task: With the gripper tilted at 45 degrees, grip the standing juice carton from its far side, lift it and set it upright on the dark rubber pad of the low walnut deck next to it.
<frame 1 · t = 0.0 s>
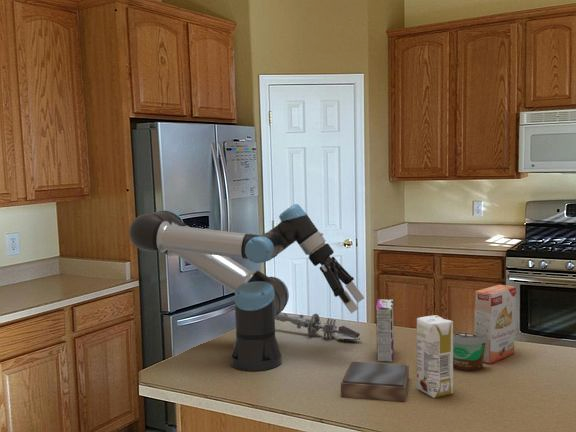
hand: (358, 305, 186), 15 cm above the counter, fingers open, 13 cm apart
cracker box: (494, 357, 182), on the counter
food container: (464, 369, 173), on the counter
candy bar box: (385, 356, 185), on the counter
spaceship: (313, 336, 208), on the counter
juice carton: (434, 392, 156), on the counter
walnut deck: (376, 387, 160), on the counter
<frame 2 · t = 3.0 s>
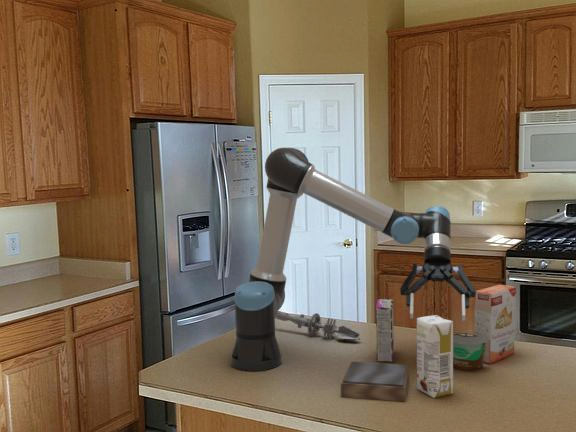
hand: (437, 317, 163), 17 cm above the counter, fingers open, 13 cm apart
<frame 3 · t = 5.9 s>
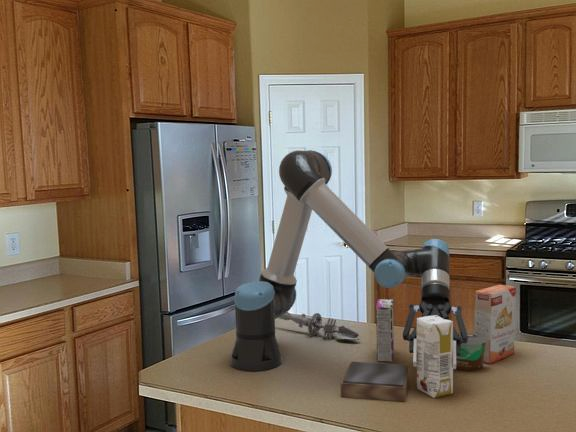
hand: (434, 365, 153), 8 cm above the counter, fingers closed on juice carton, 9 cm apart
juice carton: (434, 392, 156), on the counter, touching gripper
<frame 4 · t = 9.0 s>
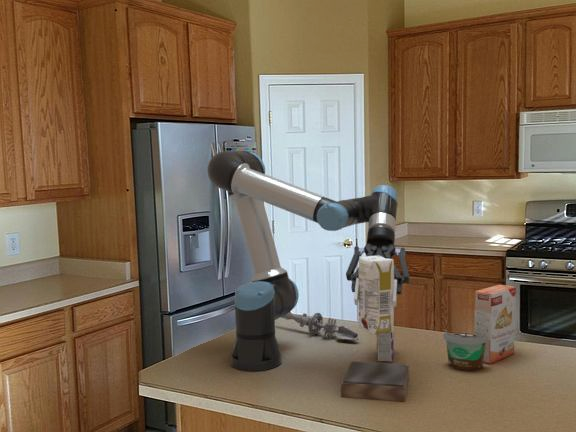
hand: (375, 303, 155), 23 cm above the counter, fingers closed on juice carton, 9 cm apart
juice carton: (376, 330, 158), point 15 cm above the counter, touching gripper
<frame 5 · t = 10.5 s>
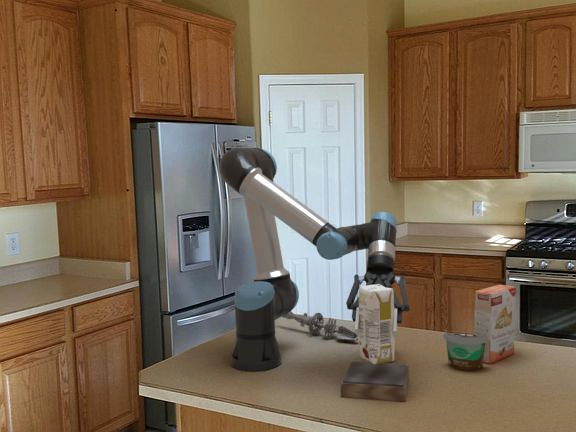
hand: (375, 332, 155), 16 cm above the counter, fingers closed on juice carton, 9 cm apart
juice carton: (377, 359, 159), point 8 cm above the counter, touching gripper
when the fingers open (13 cm above the counter, at t = 11.9 s): juice carton drops 1 cm, resting on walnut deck.
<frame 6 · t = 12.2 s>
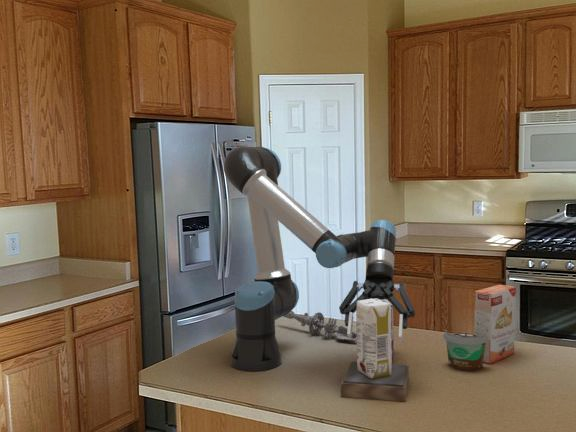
hand: (374, 337, 156), 14 cm above the counter, fingers open, 12 cm apart
juice carton: (374, 373, 159), point 4 cm above the counter, touching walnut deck
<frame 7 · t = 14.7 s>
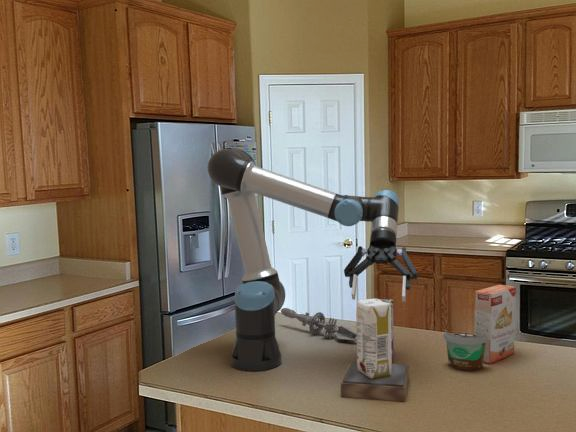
hand: (378, 297, 165), 22 cm above the counter, fingers open, 13 cm apart
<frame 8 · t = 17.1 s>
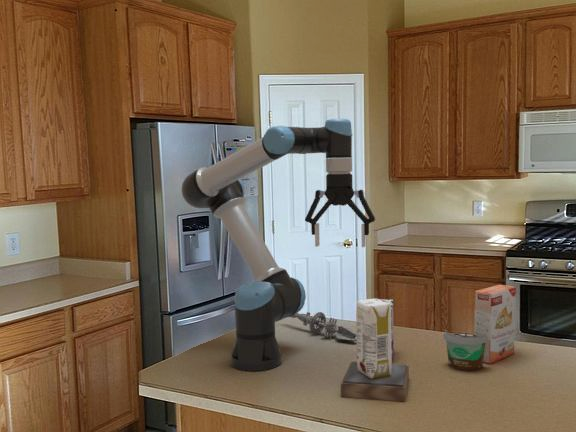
hand: (340, 246, 177), 35 cm above the counter, fingers open, 13 cm apart
at the end: juice carton inside the target area on the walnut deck (0.6 cm from its centre), point 3.8 cm above the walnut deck's base; juice carton tilted 0°; the gripper is holding nothing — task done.
